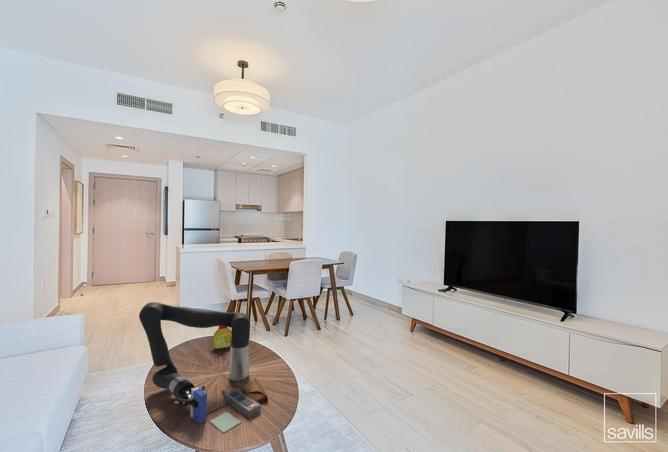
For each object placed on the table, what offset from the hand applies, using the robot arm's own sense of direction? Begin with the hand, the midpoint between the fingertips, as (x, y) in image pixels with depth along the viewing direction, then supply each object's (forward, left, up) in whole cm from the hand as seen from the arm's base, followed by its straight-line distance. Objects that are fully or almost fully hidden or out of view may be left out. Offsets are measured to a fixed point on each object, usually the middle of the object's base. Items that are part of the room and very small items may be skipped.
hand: (201, 403), depth 124 cm
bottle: (-44, -56, -7) cm, 72 cm away
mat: (-6, +9, -7) cm, 13 cm away
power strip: (-11, +1, -7) cm, 13 cm away
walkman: (0, -2, -7) cm, 7 cm away
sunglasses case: (-26, +1, -8) cm, 27 cm away
